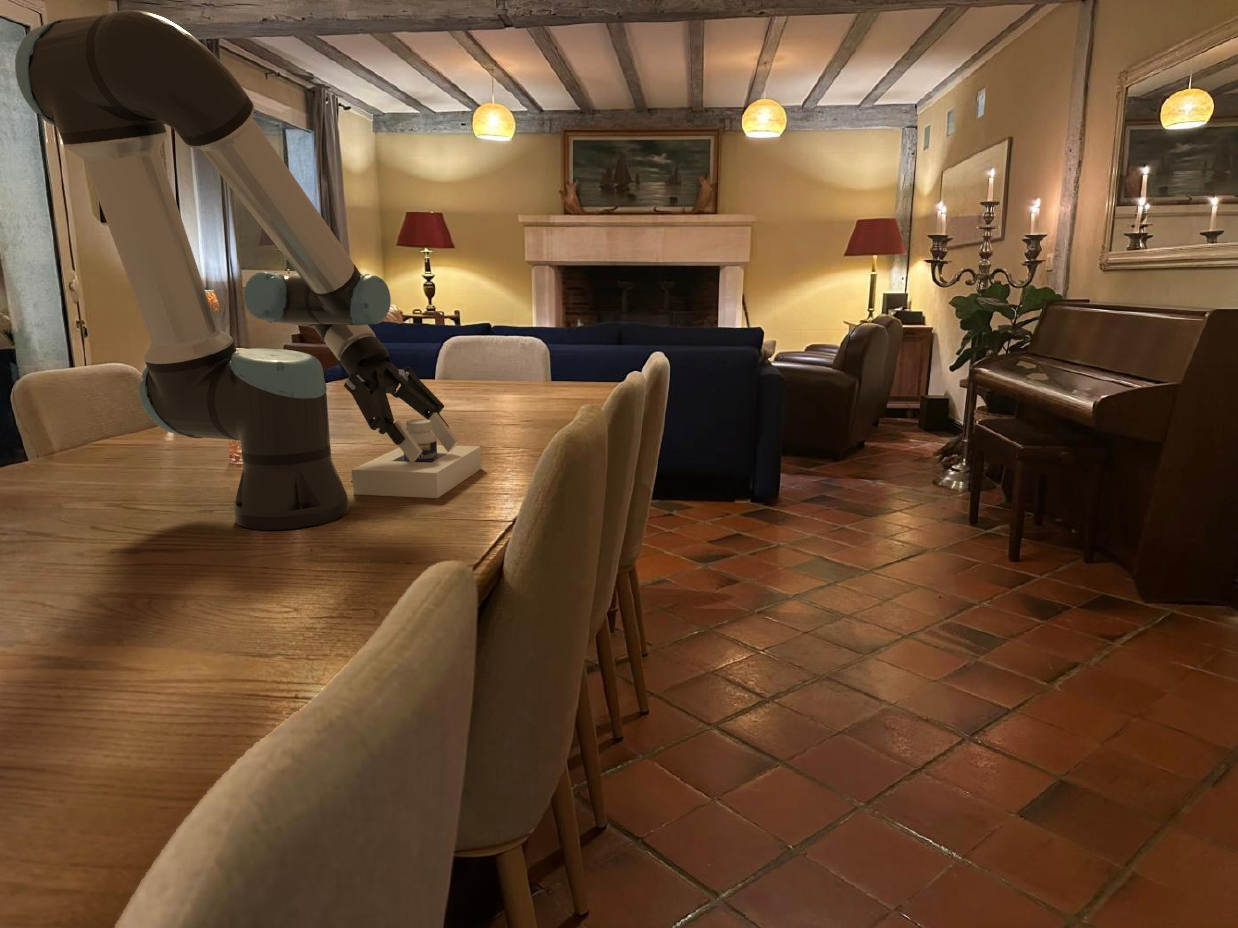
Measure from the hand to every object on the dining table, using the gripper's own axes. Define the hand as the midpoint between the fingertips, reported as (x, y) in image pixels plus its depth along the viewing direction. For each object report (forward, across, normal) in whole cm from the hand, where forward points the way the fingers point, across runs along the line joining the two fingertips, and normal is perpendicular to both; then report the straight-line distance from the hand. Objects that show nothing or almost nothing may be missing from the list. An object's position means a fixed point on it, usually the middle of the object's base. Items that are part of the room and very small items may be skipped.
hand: (435, 451), depth 133 cm
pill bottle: (+1, 0, -6) cm, 6 cm away
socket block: (+1, 0, -6) cm, 6 cm away
